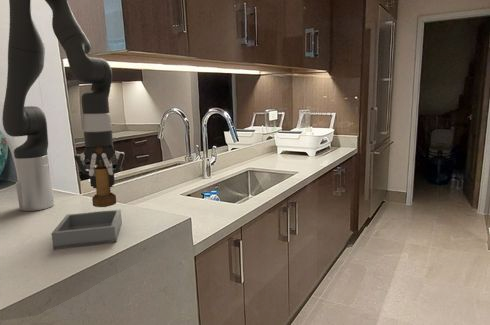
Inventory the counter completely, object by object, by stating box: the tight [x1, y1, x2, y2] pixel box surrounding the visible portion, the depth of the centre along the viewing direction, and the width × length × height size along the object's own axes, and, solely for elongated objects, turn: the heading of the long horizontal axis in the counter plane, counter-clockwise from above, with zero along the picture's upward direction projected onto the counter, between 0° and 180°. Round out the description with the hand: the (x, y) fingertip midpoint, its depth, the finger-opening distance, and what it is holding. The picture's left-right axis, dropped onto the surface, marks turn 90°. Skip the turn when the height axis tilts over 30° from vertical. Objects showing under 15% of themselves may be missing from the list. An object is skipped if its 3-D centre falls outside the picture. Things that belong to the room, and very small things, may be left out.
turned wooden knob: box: [91, 147, 117, 208], centre depth 101 cm, size 7×6×18 cm
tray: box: [51, 209, 123, 250], centre depth 89 cm, size 14×14×4 cm
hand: (103, 186), depth 102 cm, fingers closed on turned wooden knob, 4 cm apart
